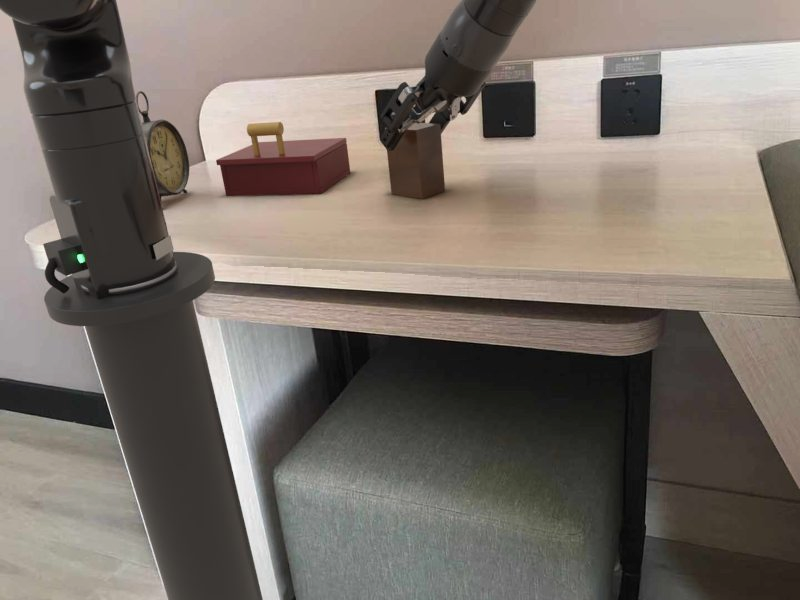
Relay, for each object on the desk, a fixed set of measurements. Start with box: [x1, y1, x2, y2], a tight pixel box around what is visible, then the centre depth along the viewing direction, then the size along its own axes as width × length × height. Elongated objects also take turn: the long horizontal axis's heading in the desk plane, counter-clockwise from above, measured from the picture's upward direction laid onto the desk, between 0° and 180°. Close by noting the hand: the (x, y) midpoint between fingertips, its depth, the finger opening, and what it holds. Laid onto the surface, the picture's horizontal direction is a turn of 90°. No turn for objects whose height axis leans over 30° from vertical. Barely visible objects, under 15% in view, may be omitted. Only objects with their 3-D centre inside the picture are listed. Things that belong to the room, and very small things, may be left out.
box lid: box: [215, 121, 347, 166], centre depth 103 cm, size 13×16×5 cm
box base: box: [219, 143, 351, 197], centre depth 105 cm, size 13×16×5 cm
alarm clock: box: [135, 90, 190, 202], centre depth 100 cm, size 11×5×16 cm, turn 170°
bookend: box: [384, 122, 446, 200], centre depth 92 cm, size 4×6×9 cm
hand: (409, 139), depth 91 cm, fingers open, 8 cm apart
